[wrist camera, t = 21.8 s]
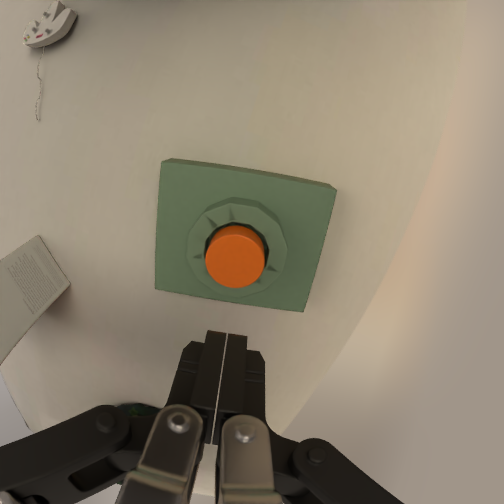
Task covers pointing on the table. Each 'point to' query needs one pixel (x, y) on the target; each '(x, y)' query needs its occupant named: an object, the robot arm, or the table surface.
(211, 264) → the button
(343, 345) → the table surface
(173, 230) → the control block
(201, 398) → the robot arm
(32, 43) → the game controller
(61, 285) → the small box
